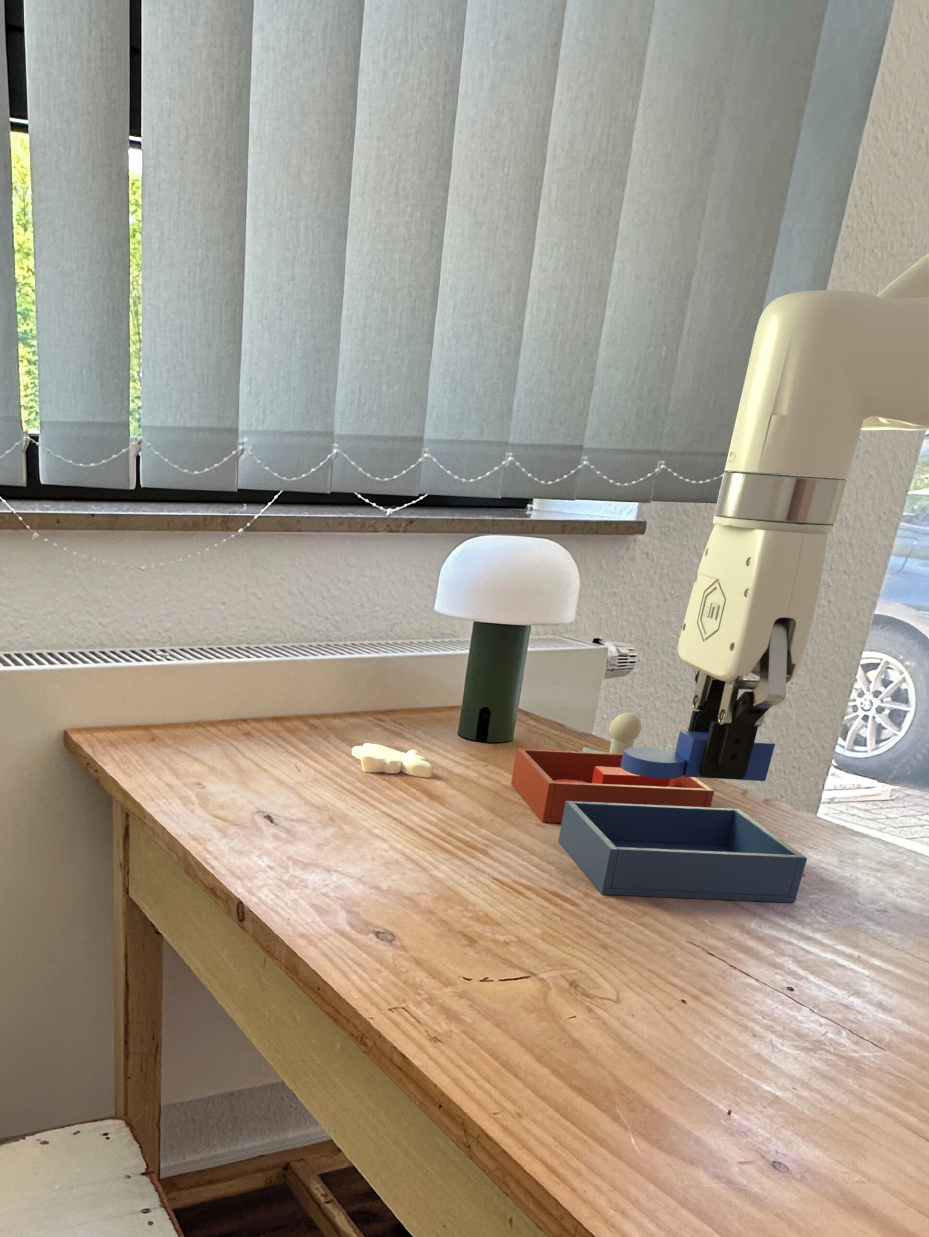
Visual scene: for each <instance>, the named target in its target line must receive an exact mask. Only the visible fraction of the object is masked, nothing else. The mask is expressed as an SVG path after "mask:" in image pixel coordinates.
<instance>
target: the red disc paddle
mask: <svg viewBox="0 0 929 1237" xmlns="http://www.w3.org/2000/svg"><path fill="white" fill-rule="evenodd" d="M553 781H554V782H572V783H586V782H582V781H577V780H567V779H561V780H553ZM669 781H670V779H657V778H649V777H644V776H639V775H636V774H632V773H630V772H627V771H625V770H623V769H622V768H621V767H599V766H595V768H594V773H593V778H592V783H594V784H615V785H636V786H658V787H668V786H669Z"/></svg>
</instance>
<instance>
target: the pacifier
mask: <svg viewBox="0 0 929 1237" xmlns="http://www.w3.org/2000/svg"><path fill="white" fill-rule="evenodd" d="M641 731H642V720H641V719H640V717H639V716H638V715H637V714H635V713H633V712H623V713H621V714H619V715H617V716H615V717H614V719H613V720H612V721H611V723H610V724H609V727H608V733H609V736H610V739H611V742H610V747H609V752H607V751H603V750H596V749H594V748H590V747H587V746H583V747H582V752H601V753H622V754H623V752H624V750H625V749H627V748H632V747H633V746H634V743H635V740H636V739H637V738H638V737H639V735H640V733H641Z"/></svg>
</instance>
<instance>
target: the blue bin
mask: <svg viewBox="0 0 929 1237" xmlns="http://www.w3.org/2000/svg"><path fill="white" fill-rule="evenodd" d="M559 830H560V831H559V835H558V840H557V843H559V845H560V846H561V847H562V848H563V849H564V850H565V852H566V853H567V854H568V855H569V857H570V858H571V859H572V860H573V861H574V863H575V864H576V865H577V866H578V867H579V869H580V870H581V872H583V874H584V875H585V876H586V877H587V879H588V880H589V881H590V883H591V884H592V885H593V886H594V888H596V889H597V891H598V892H599V894H600V895H606V896H607V895H608V896H631V897H652V898H673V899H675V898H676V899H697V900H723V901H742V902H743V901H745V902H766V903H787V904H788V903H791V904H793V903H796V900H797V895H798V892H799V888H800V885H801V882H802V877H803V874H804V872H805V867H806V864H807V860H808V858H807V857H806V856H805V855H803V853H800V851H798V850H797V849H795V848H794V847H792V846H791V845H790V844H788V843H787V842H785V841H784V840H783V839H781V838H780V837H779V836H777V835H776V834H774V833H773V832H772V831H770V830H769V829H768V828H766V827H765V826H764V825H762V824H761V823H760V822H758V821H756V820H755V819H754V818H752V817H751V816H750V815H748V814H747V813H746V812H744V811H743V810H741V809H740V808H730V807H729V808H728V807H727V808H726V807H710V808H708V807H687V806H665V805H644V804H622V803H600V802H579V801H566V802H565V807H564V812H563V818H562V823H560V829H559Z"/></svg>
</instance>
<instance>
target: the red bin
mask: <svg viewBox="0 0 929 1237" xmlns="http://www.w3.org/2000/svg"><path fill="white" fill-rule="evenodd" d="M622 756H623V754H622V753H609V752H608V753H601V752H584V751H581V750H580V751H576V750H574V751H573V750H556V749H536V748H516V751H515V756H514V763H513V770H512V775H511V781H510V785H511V786H512V787H513V788H514V790H515V791H516V792H517V793H518V795H519V796H520V797H521V799H523V800H524V802H525V803H526V804H527V805H528V807H529V809H531V810H532V811H533V813H534V814H535V815H536V816H537V817H538V819H539V820H540V822H542V823H549V824H550V823H551V824H552V823H553V824H561V823H562V818H563V812H564V807H565V802H566V801H579V802H600V803H622V804H644V805H665V806H687V807H708V808H712V802H713V797H714V795H715V790H713V788H711V787H710V786H708V785H707V784H705V783H704V782H703V781H701V780H700V779H699V778H697V777H685V776H683V775H682V776H681V777H679V778H675V779H670V781H669V786H668V787H658V786H636V785H615V784H594V783H592V778H593V773H594V768H595V766H599V767H621V761H622ZM561 779H567V780H577V781H582V782H586V783H572V782H554V781H553V780H561Z"/></svg>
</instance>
